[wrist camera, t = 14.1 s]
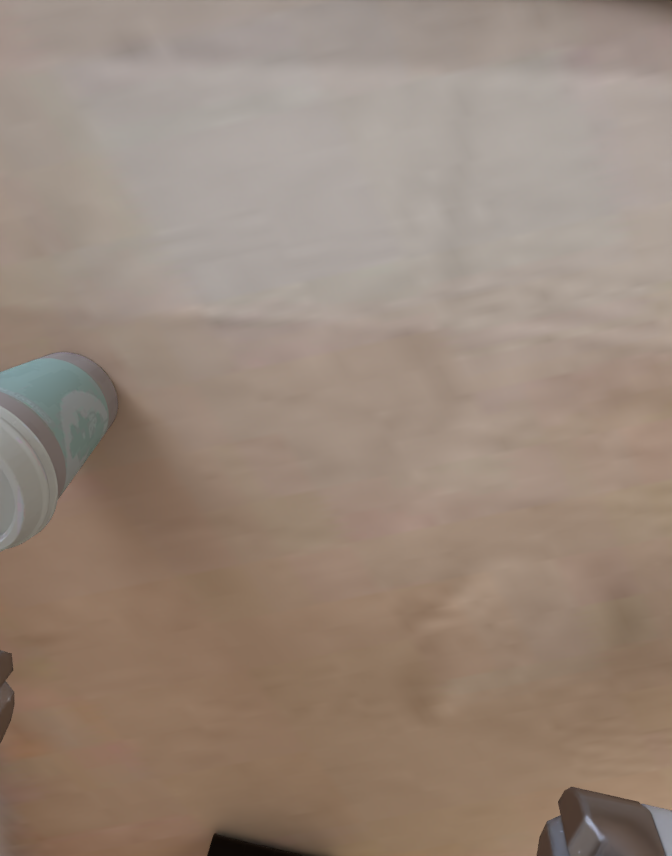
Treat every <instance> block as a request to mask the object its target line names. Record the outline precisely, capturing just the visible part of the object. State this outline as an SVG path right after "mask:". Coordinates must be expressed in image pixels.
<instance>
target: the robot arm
mask: <svg viewBox="0 0 672 856" xmlns="http://www.w3.org/2000/svg"><path fill="white" fill-rule="evenodd" d="M12 671H13V661H12V653H8V652H5V651H1V650H0V743H1V741H2V739H3V737H4V735H5V733H6V730H7V728H8V726H9V724H10V721H11V718H12V714H13V709H14V691H13V690H12V689H11V687H10V686H9V685H8V683H7V682H6V681H5V680H6V679H7V678H8V676H9V675H10V674H11V672H12ZM558 804H559V809H560V814H561V815H560V816H558V817H556V818H553V819H551V820H549V821H547V823H546V825H545V827H544V829H543V831H542V833H541V835H540V838H539V844H538V851H537V856H672V811H671V810H667V809H663V808H659V807H654V806H650V805H646V804H640V803H639V802H637V801H633V800H628V799H624V798H620V797H615V796H611V795H606V794H602V793H597V792H593V791H589V790H584V789H580V788H575V787H570V788H568V789H567V790H565V791H564V792H563V794H562V796H561V798H560V799H559V801H558Z"/></svg>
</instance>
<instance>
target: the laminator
mask: <svg viewBox="0 0 672 856" xmlns="http://www.w3.org/2000/svg"><path fill="white" fill-rule="evenodd" d="M207 856H301V855H297V854H293V853H289V852H285V851H280V850H275V849H271V848H268V847H264V846H259V845H255V844H251V843H246V842H242V841H238V840H234V839H230V838H226V837H222V836H219V835H217V834H216V833H215V834H214V836H213V839H212V842H211V845H210V848H209V852H208V855H207Z"/></svg>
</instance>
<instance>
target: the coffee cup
mask: <svg viewBox="0 0 672 856" xmlns="http://www.w3.org/2000/svg"><path fill="white" fill-rule="evenodd" d="M117 410H118V399H117V394H116V390H115V388H114V385H113V383H112V382H111V380H110V378H109V377H108V375H107V374H106V373H105V372H104V371H103V370H102V369H101V368H100V367H99V366H98V365H97V364H96V363H94V362H93V361H91V360H90V359H88V358H86V357H84V356H81V355H78V354H75V353H69V352H58V353H53V354H50V355H47V356H44V357H41V358H39V359H36V360H33V361H30V362H27V363H25V364H22V365H19V366H16V367H14V368H11V369H8V370H5V371H3V372H0V552H1V551H3V550H5V549H8V548H12V547H15V546H18V545H20V544H22V543H24V542H25V541H27V540H29V539H30V538H31V537H33V536H35V535H36V534H38V533H39V532H40V531H41V530H42V529H43V528H44V527H45V526H46V525H47V524H48V522H49V521H50V519H51V518H52V516H53V514H54V511H55V508H56V504H57V500H58V499H59V497H60V496H61V495H62V493H63V492H64V490H65V489H66V488H67V486H68V485H69V483H70V482H71V481H72V479H73V478H74V476H75V475H76V474H77V472H78V471H79V469H80V468H81V467H82V465H83V464H84V463H85V461H86V460H87V458H88V457H89V456H90V454H91V453H92V451H93V450H94V449H95V447H96V446H97V444H98V443H99V442H100V440H101V439H102V437H103V436H104V434H105V433H106V432H107V430H108V429H109V427H110V426H111V424H112V423H113V421H114V419H115V417H116V414H117Z"/></svg>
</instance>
